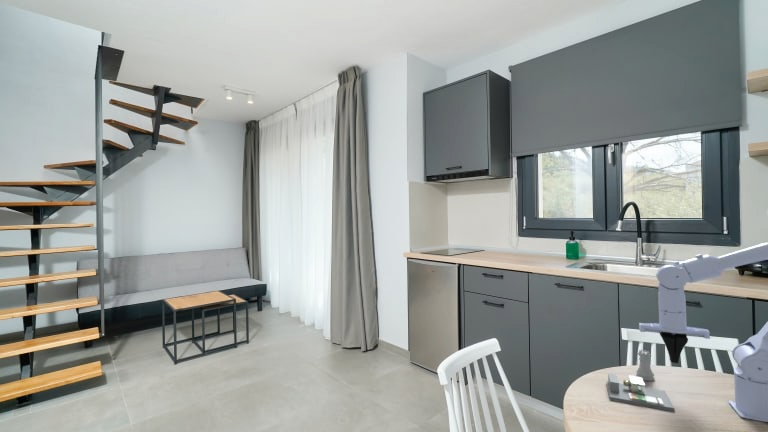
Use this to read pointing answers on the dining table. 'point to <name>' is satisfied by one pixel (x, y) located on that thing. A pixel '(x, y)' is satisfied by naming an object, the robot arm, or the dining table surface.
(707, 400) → the dining table surface
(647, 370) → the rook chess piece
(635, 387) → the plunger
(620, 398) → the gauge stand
